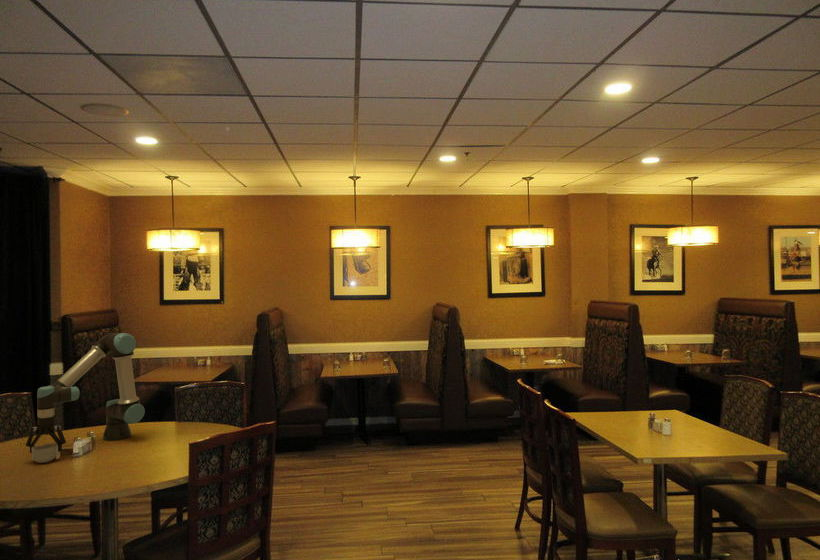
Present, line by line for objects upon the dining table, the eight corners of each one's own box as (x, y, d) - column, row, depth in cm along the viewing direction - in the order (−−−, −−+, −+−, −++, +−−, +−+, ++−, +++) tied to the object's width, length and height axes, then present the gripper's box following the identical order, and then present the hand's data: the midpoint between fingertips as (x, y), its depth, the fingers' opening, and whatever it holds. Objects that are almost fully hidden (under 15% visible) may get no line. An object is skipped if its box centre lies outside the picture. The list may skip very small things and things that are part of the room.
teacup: (44, 465, 274) (44, 449, 274) (26, 464, 276) (26, 448, 276) (67, 456, 288) (66, 441, 288) (49, 455, 290) (49, 440, 290)
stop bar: (79, 452, 296) (79, 446, 296) (77, 454, 293) (77, 448, 294) (35, 454, 292) (35, 448, 293) (32, 456, 290) (32, 450, 290)
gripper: (17, 419, 276) (17, 462, 276) (66, 417, 280) (66, 459, 280) (25, 416, 284) (25, 457, 283) (73, 413, 288) (73, 455, 287)
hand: (45, 458), depth 282 cm, fingers closed on teacup, 11 cm apart
